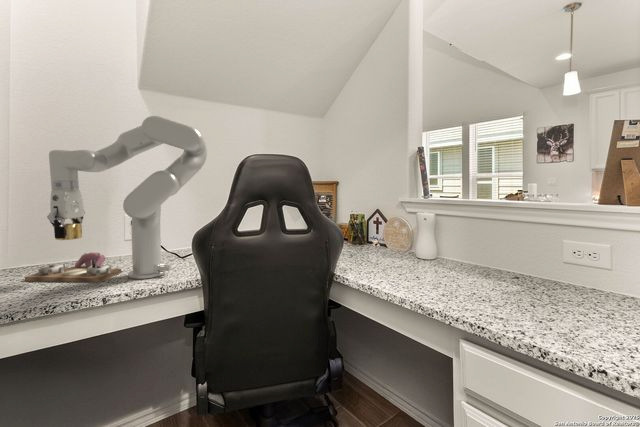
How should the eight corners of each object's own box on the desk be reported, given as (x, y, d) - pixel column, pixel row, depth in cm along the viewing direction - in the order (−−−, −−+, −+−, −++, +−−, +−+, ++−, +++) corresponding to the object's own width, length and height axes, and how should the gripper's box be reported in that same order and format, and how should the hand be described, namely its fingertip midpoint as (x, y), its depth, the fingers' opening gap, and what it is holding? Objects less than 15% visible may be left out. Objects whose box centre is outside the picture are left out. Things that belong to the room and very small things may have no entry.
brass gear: (86, 236, 116) (85, 222, 116) (72, 240, 109) (71, 225, 108) (65, 236, 116) (64, 222, 115) (50, 240, 109) (48, 225, 108)
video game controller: (103, 270, 130) (108, 254, 133) (95, 268, 126) (101, 251, 129) (81, 269, 131) (87, 253, 134) (72, 267, 127) (78, 250, 130)
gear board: (121, 272, 122) (120, 256, 122) (100, 282, 111) (99, 263, 110) (53, 271, 122) (52, 255, 122) (25, 281, 110) (23, 262, 110)
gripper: (57, 186, 102) (61, 240, 104) (92, 186, 120) (95, 232, 121) (32, 186, 102) (37, 240, 104) (72, 186, 119) (75, 232, 121)
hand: (69, 236), depth 112 cm, fingers closed on brass gear, 7 cm apart
